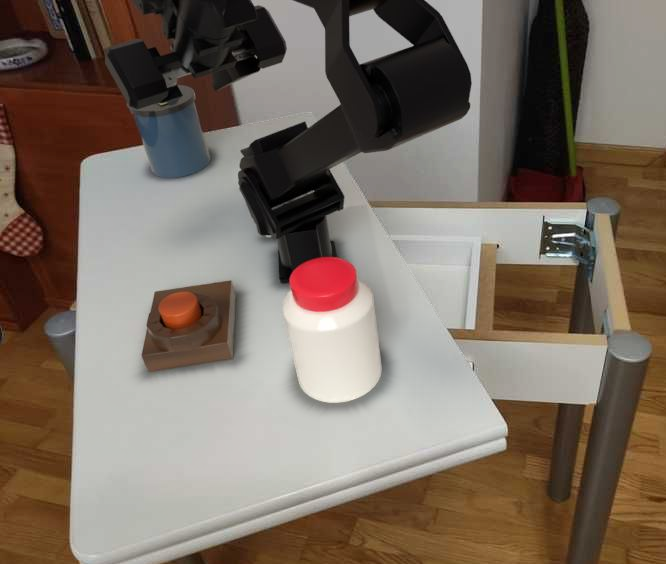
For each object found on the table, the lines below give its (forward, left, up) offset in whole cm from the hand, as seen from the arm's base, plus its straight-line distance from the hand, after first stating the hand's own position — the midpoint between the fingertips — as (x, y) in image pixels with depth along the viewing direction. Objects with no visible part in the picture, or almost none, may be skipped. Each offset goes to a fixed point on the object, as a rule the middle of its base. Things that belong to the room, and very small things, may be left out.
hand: (192, 94), depth 78 cm
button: (-30, +1, -10) cm, 32 cm away
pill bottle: (-37, -13, -14) cm, 42 cm away
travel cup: (+11, +6, -14) cm, 19 cm away
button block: (-28, +1, -14) cm, 31 cm away
